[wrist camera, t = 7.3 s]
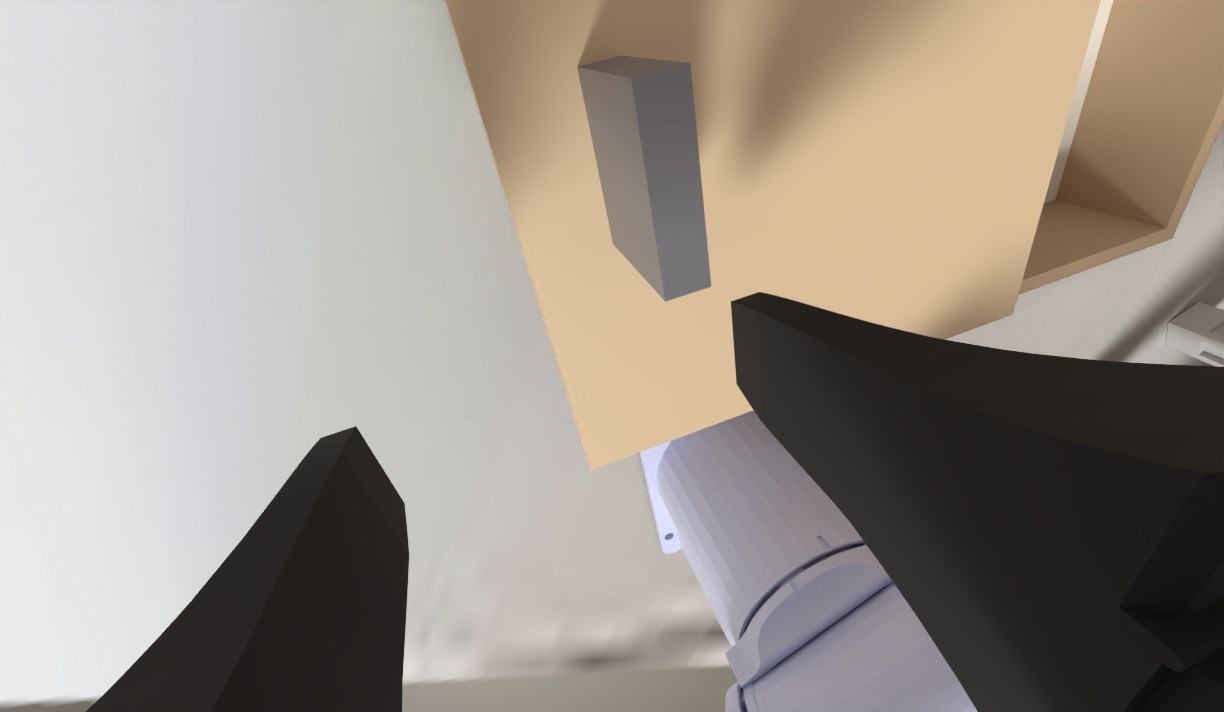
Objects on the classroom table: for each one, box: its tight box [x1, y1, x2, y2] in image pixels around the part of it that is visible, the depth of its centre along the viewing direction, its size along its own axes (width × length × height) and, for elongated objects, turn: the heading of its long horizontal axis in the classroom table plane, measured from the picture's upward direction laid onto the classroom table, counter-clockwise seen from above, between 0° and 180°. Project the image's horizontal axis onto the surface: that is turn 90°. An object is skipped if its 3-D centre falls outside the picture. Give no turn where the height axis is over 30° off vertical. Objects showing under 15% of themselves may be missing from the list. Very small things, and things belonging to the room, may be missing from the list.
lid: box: [444, 0, 1101, 470], centre depth 12 cm, size 18×16×4 cm
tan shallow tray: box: [1018, 0, 1224, 295], centre depth 17 cm, size 18×16×5 cm
